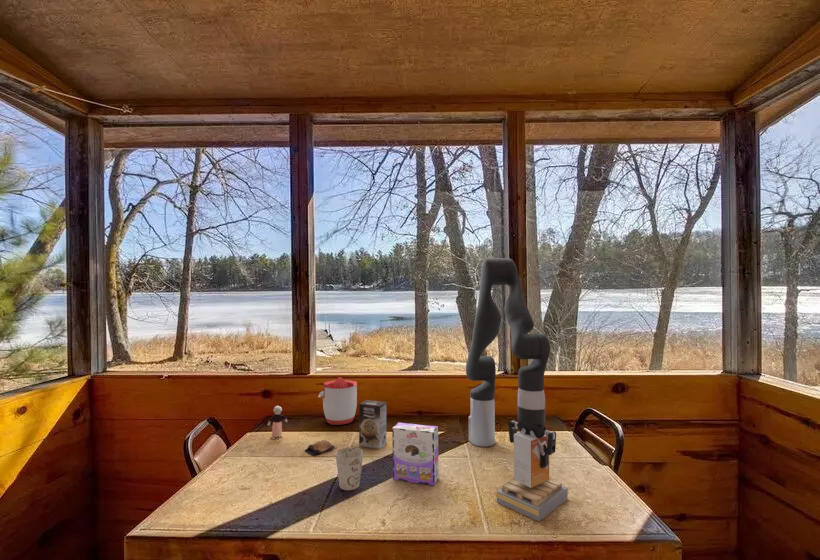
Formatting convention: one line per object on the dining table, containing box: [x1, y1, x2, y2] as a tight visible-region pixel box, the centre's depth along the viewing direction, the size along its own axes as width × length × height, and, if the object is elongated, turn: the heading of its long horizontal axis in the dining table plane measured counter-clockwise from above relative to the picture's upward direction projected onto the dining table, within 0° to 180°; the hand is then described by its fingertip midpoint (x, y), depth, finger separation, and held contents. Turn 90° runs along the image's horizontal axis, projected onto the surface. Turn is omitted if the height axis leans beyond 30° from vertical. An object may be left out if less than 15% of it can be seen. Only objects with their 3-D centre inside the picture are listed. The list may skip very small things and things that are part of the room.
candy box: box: [391, 422, 440, 486], centre depth 126 cm, size 14×6×16 cm, turn 71°
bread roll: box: [303, 439, 338, 457], centre depth 149 cm, size 11×8×4 cm
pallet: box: [501, 477, 563, 506], centre depth 113 cm, size 11×14×2 cm
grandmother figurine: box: [267, 405, 288, 440], centre depth 162 cm, size 8×4×13 cm, turn 129°
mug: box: [335, 446, 364, 491], centre depth 124 cm, size 8×13×10 cm, turn 27°
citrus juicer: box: [318, 376, 358, 426], centre depth 180 cm, size 16×17×20 cm
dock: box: [495, 485, 569, 522], centre depth 113 cm, size 13×16×3 cm
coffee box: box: [358, 399, 388, 450], centre depth 154 cm, size 9×6×16 cm
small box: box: [513, 431, 550, 488], centre depth 113 cm, size 8×6×13 cm
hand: (531, 463), depth 113 cm, fingers closed on small box, 6 cm apart
